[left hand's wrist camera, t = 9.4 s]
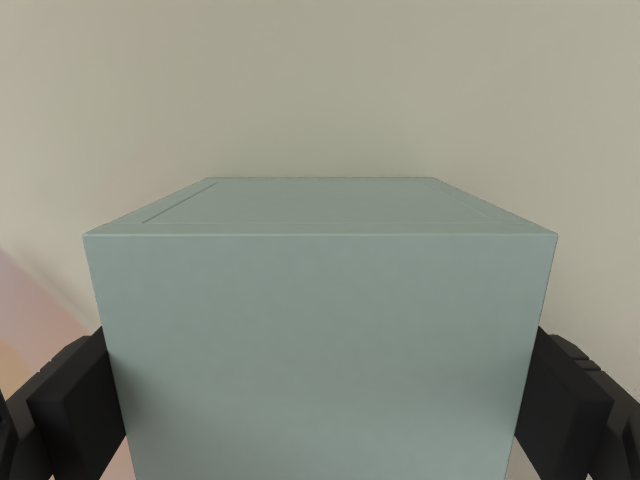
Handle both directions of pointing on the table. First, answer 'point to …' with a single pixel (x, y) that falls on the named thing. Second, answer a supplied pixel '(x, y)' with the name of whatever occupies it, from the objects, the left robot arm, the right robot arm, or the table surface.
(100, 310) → the cabinet
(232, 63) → the table surface
